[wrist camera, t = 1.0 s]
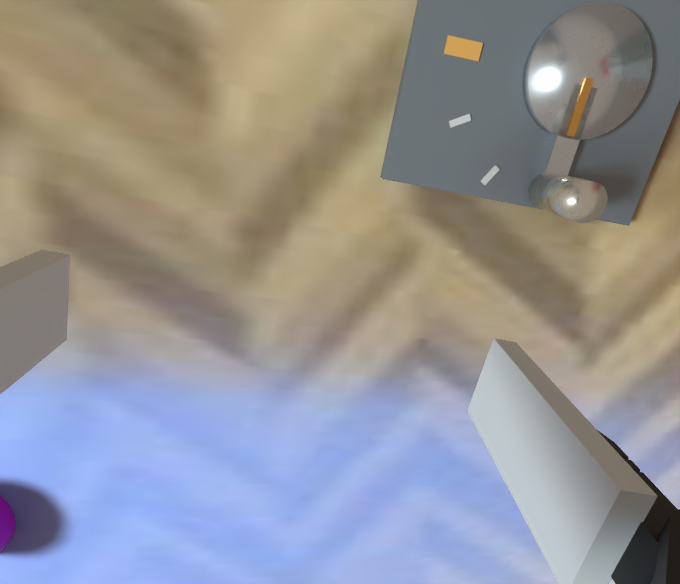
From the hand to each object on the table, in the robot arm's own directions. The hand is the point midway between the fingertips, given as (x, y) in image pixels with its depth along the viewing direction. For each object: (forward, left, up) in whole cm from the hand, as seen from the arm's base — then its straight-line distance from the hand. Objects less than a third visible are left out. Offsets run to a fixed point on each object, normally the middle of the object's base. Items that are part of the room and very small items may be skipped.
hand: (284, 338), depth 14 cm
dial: (-11, +19, -24) cm, 32 cm away
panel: (-13, +16, -25) cm, 33 cm away
